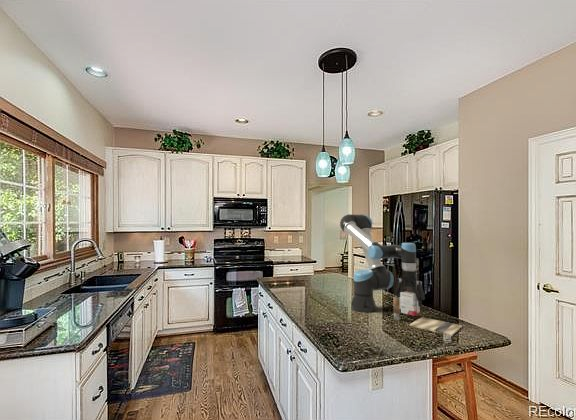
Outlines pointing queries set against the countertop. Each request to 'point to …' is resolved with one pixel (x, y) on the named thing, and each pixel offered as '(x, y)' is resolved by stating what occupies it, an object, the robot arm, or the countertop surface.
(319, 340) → the countertop surface
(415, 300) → the ink box
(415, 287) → the robot arm
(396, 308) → the awl dowel
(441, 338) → the countertop surface
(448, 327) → the subfloor board
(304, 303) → the countertop surface
